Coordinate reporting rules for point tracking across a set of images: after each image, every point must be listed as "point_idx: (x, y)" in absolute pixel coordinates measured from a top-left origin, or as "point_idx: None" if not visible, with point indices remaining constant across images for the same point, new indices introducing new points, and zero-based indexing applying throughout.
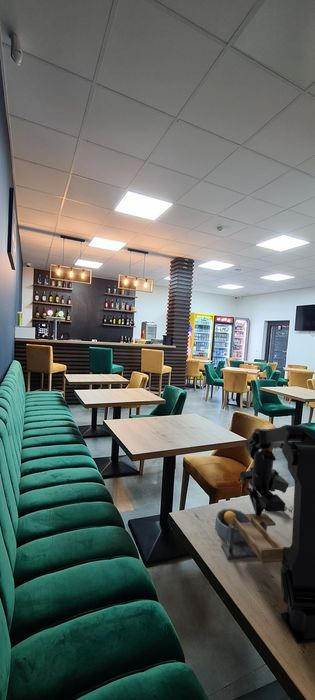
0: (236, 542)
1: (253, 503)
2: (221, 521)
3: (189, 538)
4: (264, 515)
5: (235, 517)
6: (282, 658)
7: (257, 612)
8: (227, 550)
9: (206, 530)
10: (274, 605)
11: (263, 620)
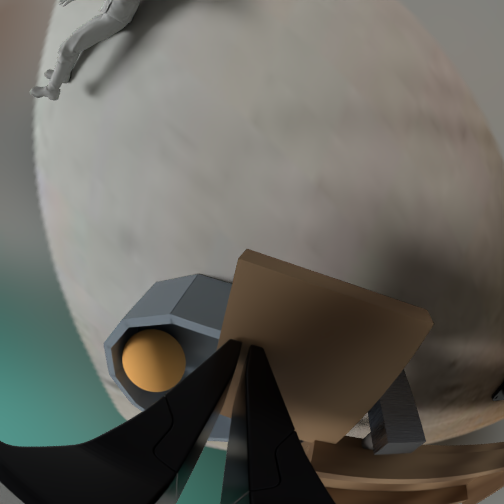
0: None
1: (195, 464)
2: None
3: (212, 446)
4: (277, 310)
5: (167, 363)
6: (497, 418)
7: (455, 426)
8: None
9: None
10: (477, 397)
11: (467, 422)
